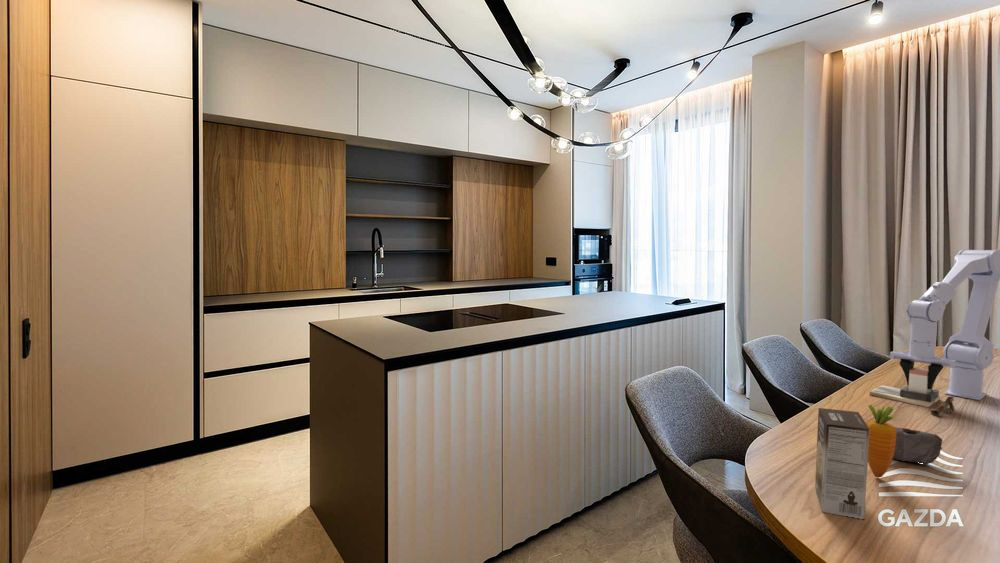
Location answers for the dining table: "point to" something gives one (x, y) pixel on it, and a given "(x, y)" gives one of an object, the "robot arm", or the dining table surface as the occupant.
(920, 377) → the plug
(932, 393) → the board
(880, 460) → the carrot
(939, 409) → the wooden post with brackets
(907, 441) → the perforated stone tool
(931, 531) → the dining table surface
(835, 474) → the coffee box
